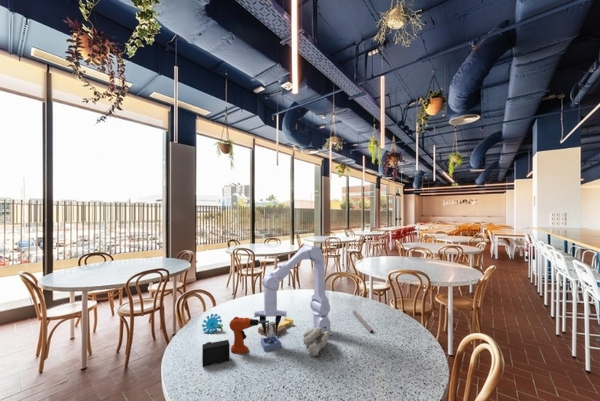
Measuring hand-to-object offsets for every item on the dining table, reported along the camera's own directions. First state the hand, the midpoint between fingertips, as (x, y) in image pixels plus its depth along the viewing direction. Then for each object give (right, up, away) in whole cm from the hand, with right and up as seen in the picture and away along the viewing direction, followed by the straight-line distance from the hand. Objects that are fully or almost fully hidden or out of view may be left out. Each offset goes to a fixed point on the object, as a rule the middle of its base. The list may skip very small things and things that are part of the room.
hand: (270, 332), depth 121 cm
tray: (0, -6, 0) cm, 6 cm away
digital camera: (-21, -6, -12) cm, 25 cm away
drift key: (+4, -7, +19) cm, 21 cm away
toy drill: (-9, -6, -6) cm, 12 cm away
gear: (-32, -7, +16) cm, 36 cm away
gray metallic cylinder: (0, -5, 0) cm, 5 cm away
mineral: (+20, -6, -3) cm, 21 cm away
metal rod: (+47, -7, +24) cm, 54 cm away
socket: (+1, -6, +15) cm, 17 cm away
